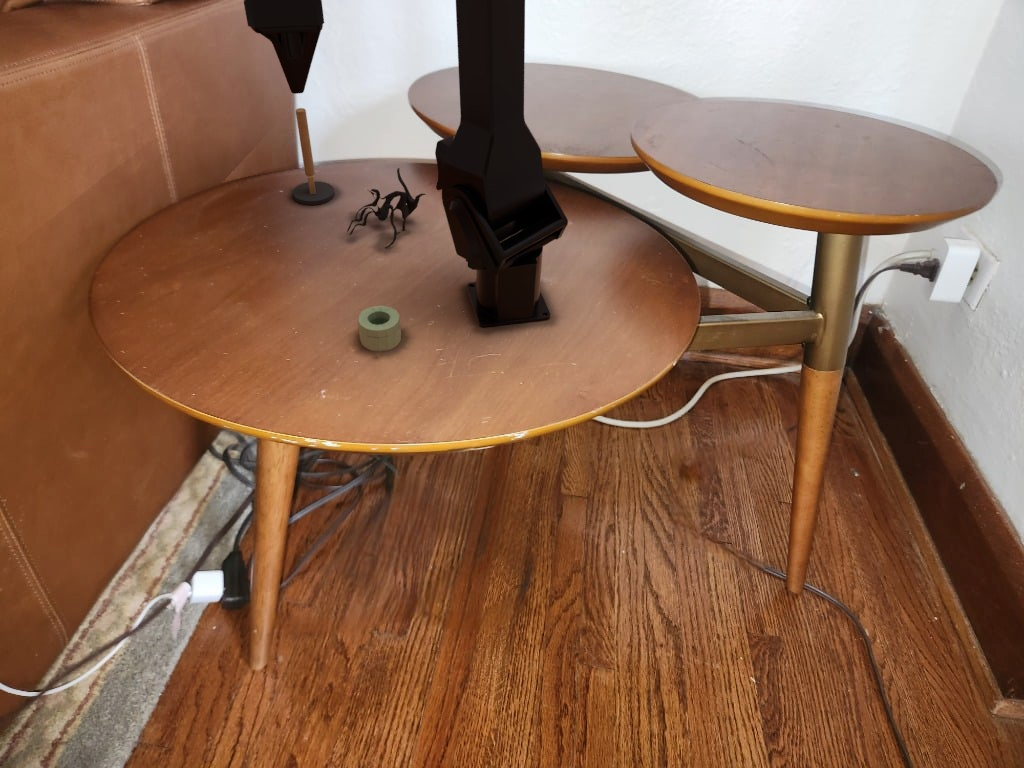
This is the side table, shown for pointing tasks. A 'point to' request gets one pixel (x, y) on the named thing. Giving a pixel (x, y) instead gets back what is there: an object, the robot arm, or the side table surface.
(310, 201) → the coaster
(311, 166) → the wooden stick
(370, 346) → the pale green thick ring
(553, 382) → the side table surface
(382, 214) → the creature
